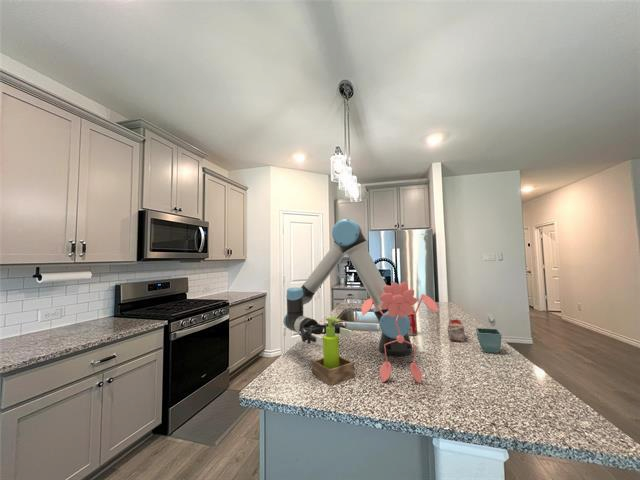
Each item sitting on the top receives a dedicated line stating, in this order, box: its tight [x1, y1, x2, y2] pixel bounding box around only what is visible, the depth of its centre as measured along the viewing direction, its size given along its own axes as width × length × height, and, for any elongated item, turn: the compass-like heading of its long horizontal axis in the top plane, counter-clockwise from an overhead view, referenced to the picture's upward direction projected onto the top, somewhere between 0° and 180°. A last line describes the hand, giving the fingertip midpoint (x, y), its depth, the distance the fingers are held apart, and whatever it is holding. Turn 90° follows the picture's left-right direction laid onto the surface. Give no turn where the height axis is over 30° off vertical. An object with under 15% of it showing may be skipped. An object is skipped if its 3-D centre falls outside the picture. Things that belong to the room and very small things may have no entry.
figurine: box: [360, 281, 439, 398], centre depth 94 cm, size 15×26×35 cm, turn 79°
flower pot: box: [475, 327, 503, 354], centre depth 123 cm, size 9×9×9 cm
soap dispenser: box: [322, 317, 341, 369], centre depth 103 cm, size 6×7×20 cm
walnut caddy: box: [311, 355, 355, 386], centre depth 102 cm, size 11×11×5 cm
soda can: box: [407, 309, 418, 337], centre depth 152 cm, size 7×7×13 cm
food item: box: [446, 318, 466, 343], centre depth 142 cm, size 14×8×10 cm, turn 158°
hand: (337, 338), depth 100 cm, fingers open, 13 cm apart
